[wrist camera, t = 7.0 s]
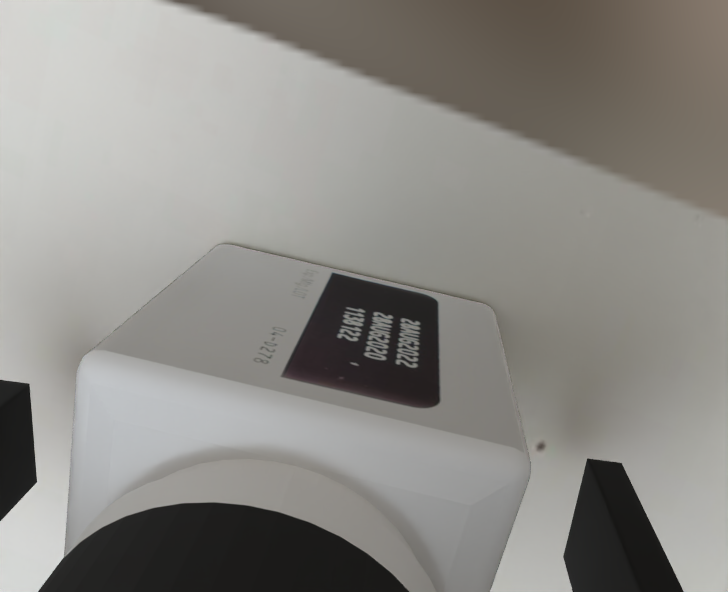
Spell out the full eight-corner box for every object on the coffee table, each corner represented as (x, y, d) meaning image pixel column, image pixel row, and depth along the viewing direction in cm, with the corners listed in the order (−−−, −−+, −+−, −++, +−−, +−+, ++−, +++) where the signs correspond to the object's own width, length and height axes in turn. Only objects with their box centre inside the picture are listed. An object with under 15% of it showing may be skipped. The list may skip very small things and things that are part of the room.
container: (216, 236, 18) (-244, 603, 6) (498, 302, 18) (634, 824, 6) (183, 474, 21) (-181, 1071, 8) (428, 534, 20) (418, 1231, 8)
